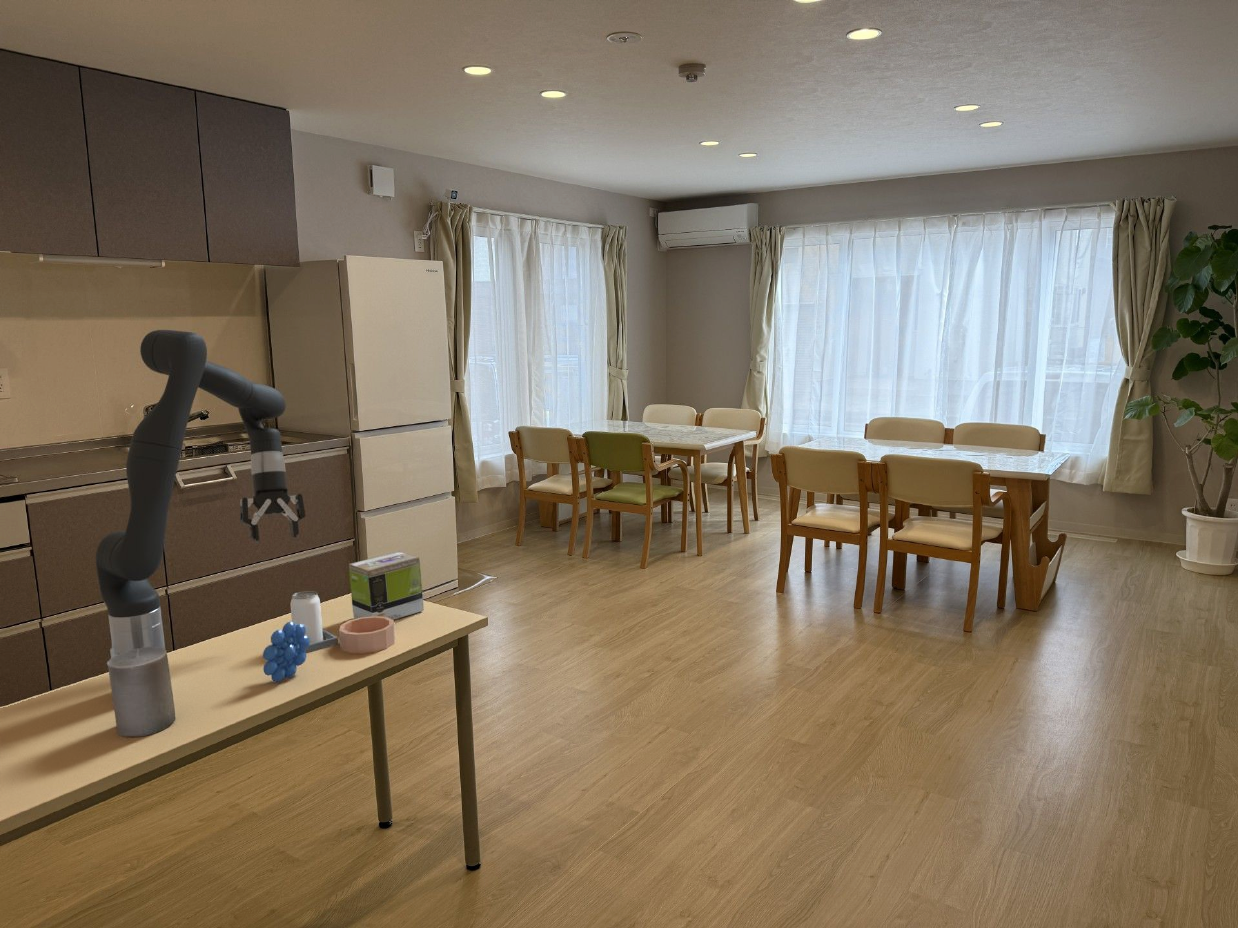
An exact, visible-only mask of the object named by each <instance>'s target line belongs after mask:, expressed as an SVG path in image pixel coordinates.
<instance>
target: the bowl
mask: <svg viewBox="0 0 1238 928" xmlns="http://www.w3.org/2000/svg"><path fill="white" fill-rule="evenodd" d="M395 633H396V632H395V619H394V620H392V619H390V618H388V617H381V616H370V617H361V618H357V619H355V618H353V619H351V620H350V619H349V620H348V621H345V622H344V623H342V624H340V626H339V643H340V649H341V650H342V651H344V652H345V653H350V654H359V655H360V654H370V653H376V652H379V651H383V650H386V649H388V648H390V647H391V646H393V645H395V641H396V640H395V639H396V636H395Z"/></svg>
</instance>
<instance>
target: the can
mask: <svg viewBox="0 0 1238 928" xmlns="http://www.w3.org/2000/svg"><path fill="white" fill-rule="evenodd" d="M321 610H322V609H321V600H320V597H319V595H318V592H317V591H314V590H305V591H304V590H303V591H300V592H295V593H294V594H292V595H291V600H290V614H291V615H290V616H291V621H292V622H294V623H295V625H298V624H303V625H304V626H305V627H306V632H305V635H306V636H308V637H309V639H310V643H309V644H313V643H316V642H320V641H324V637H323V631H322V628H323V622H322V621H323V620H322V611H321Z"/></svg>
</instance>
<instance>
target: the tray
mask: <svg viewBox="0 0 1238 928" xmlns="http://www.w3.org/2000/svg"><path fill="white" fill-rule="evenodd" d="M322 631H323V638H324V639H323V641H320V642H316V643H313V644H309V646H308V647H307V648H306V649H305V650H302V651H304V652H305V653H306V654H307V653H309V652H313V651H317V650H321V649H324V648H327V647H332V646H334V645H339V637H338V636H336V635H335V634H332V633H331V632H329V631H328V630H326V629H324V628H323V627H322Z"/></svg>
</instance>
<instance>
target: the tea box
mask: <svg viewBox="0 0 1238 928" xmlns="http://www.w3.org/2000/svg"><path fill="white" fill-rule="evenodd" d="M420 561H421V560H420V557H419V556H414V555H412V554H411V555H410V554H408V553H404V552H401V551H395V552H392V553H388V554H383V555H380V556H377V557H372V558H368V559H364V560H360V561H356V562H355V561H354V562H352V563H349V564H348V572H349V573H348V574H349V583H350V584H349V585H350V594H351V596H350V597H351V604H352V605H351V606H352V607H351V608H352V614H353V619H357V618H361V617H370V616H381V617H388V618H390V619H392V620H394V621H395V620H397V619H401V618H404V617H407V616H410V615H414V614H417V613H421V612H423V611H425V609H424V607H425V606H424V598H423V586H422V584H423V583H422V572H421V562H420Z"/></svg>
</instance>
